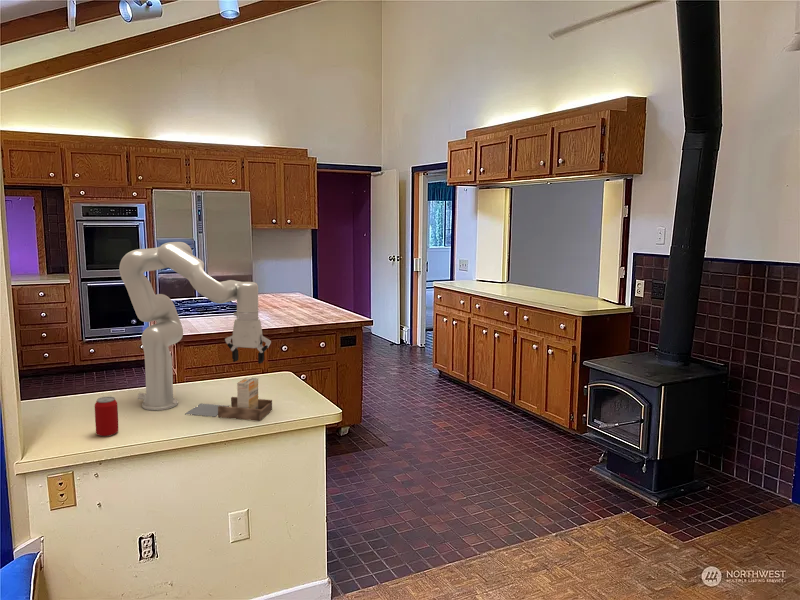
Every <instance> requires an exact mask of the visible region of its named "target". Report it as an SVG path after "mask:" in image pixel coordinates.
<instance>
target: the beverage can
mask: <svg viewBox="0 0 800 600" xmlns="http://www.w3.org/2000/svg"><path fill="white" fill-rule="evenodd" d="M118 408H119V406H118V401H117V400H116V398H115V397H114V396H101V397H99V398H97V399H96V402H95V404H94V419H95V434H96V435H98V436H99V437H111V436H113V435H116V434H117V433H118V432H119V409H118Z"/></svg>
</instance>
